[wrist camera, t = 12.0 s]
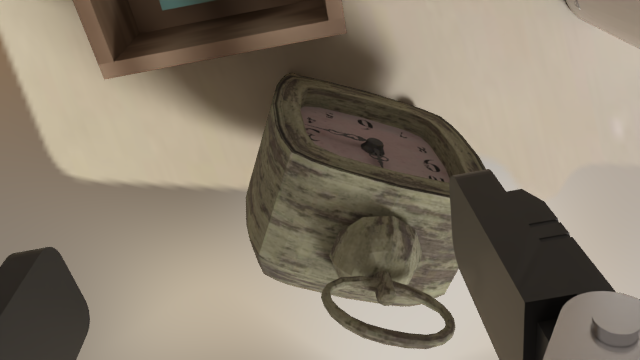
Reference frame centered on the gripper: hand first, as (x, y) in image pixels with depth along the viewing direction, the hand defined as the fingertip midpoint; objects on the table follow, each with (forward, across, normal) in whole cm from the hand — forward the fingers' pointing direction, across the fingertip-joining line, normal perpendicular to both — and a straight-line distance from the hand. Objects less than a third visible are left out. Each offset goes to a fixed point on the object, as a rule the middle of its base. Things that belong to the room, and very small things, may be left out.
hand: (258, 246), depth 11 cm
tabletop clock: (+33, -3, +13) cm, 36 cm away
